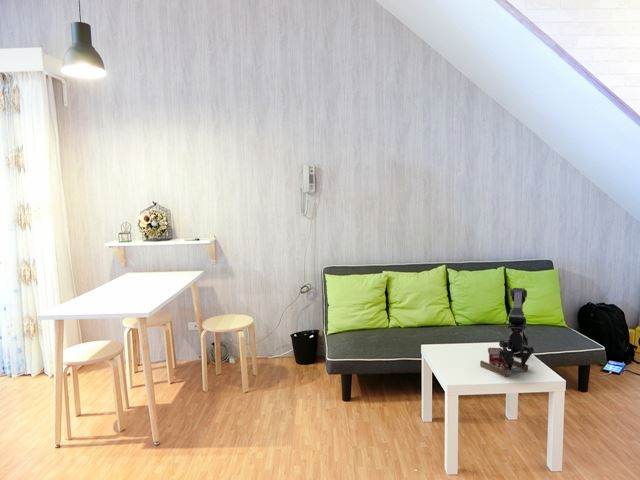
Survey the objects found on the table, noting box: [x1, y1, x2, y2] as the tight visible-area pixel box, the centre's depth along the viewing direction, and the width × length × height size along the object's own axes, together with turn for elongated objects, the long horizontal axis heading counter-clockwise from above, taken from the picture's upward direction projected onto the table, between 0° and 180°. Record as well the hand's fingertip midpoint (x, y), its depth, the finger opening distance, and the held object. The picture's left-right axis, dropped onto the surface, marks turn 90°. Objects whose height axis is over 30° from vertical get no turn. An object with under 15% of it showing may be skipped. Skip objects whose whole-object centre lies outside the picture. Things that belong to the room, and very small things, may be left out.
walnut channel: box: [479, 357, 529, 378], centre depth 237 cm, size 16×17×3 cm
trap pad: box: [506, 367, 527, 377], centre depth 232 cm, size 13×6×1 cm, turn 116°
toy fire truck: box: [487, 347, 509, 370], centre depth 238 cm, size 7×12×10 cm, turn 80°
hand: (516, 367), depth 229 cm, fingers open, 9 cm apart
